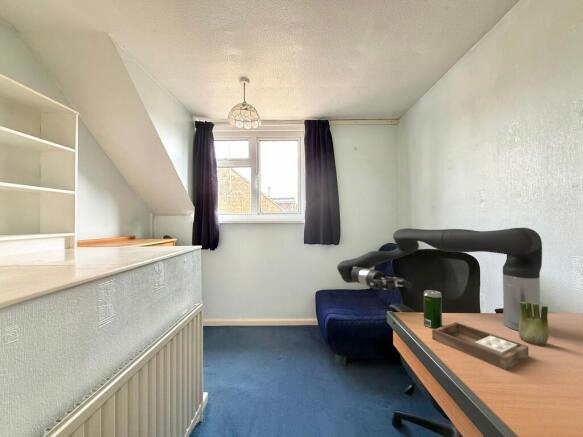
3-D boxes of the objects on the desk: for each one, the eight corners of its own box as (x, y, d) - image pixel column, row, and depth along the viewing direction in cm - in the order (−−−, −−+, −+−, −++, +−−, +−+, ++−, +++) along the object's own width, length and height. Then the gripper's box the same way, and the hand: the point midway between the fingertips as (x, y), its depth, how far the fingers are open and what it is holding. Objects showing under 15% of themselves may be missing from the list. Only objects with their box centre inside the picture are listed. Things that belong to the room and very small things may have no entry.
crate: (455, 333, 82) (455, 322, 82) (528, 360, 66) (528, 346, 66) (432, 341, 76) (432, 330, 76) (505, 373, 60) (505, 358, 60)
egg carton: (490, 346, 71) (490, 332, 71) (517, 356, 66) (517, 341, 66) (475, 353, 68) (474, 339, 68) (502, 364, 62) (502, 349, 62)
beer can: (437, 332, 82) (436, 295, 82) (420, 327, 86) (420, 291, 87) (445, 328, 85) (444, 292, 85) (429, 323, 89) (428, 289, 90)
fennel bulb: (550, 347, 72) (550, 304, 72) (541, 351, 70) (540, 307, 70) (525, 338, 77) (524, 299, 78) (515, 341, 76) (515, 301, 76)
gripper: (358, 271, 107) (389, 279, 93) (383, 268, 113) (416, 275, 99) (358, 289, 107) (389, 300, 92) (383, 285, 113) (416, 294, 99)
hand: (403, 287), depth 96 cm, fingers open, 8 cm apart
